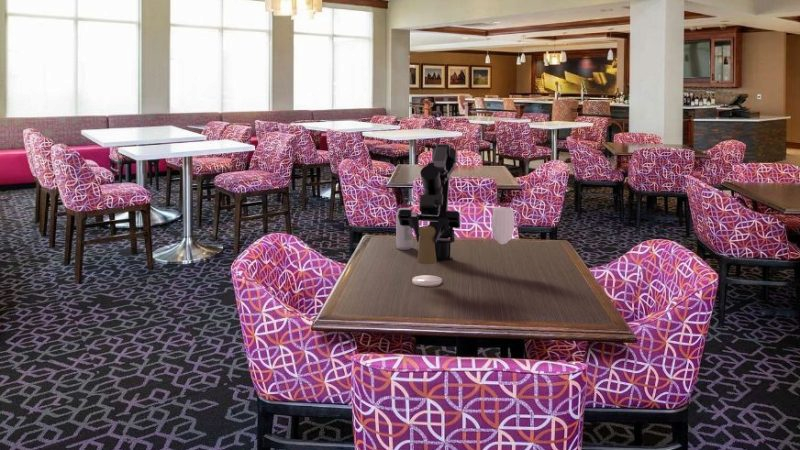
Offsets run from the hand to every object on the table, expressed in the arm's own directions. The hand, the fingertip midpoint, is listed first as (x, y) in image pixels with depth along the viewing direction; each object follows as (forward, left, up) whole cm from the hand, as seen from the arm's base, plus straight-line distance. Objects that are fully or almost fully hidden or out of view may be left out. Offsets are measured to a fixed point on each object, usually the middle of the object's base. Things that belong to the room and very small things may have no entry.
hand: (426, 241), depth 201 cm
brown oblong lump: (-1, -1, -7) cm, 7 cm away
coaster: (-1, -2, -13) cm, 13 cm away
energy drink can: (-17, -47, -13) cm, 51 cm away
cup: (-30, -3, -13) cm, 33 cm away
